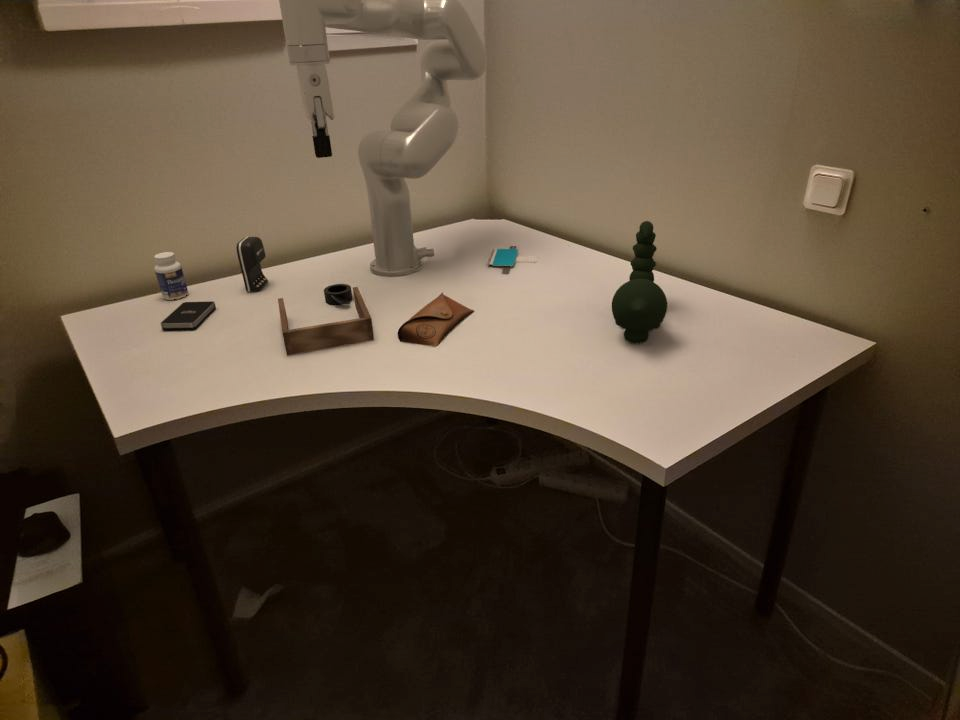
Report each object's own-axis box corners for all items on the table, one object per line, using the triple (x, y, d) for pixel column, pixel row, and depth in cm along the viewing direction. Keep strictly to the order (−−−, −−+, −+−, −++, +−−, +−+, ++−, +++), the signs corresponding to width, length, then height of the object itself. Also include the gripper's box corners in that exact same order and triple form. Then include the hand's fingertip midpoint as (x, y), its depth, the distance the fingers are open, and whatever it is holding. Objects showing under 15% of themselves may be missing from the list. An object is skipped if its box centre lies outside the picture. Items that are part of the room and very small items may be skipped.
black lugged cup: (314, 310, 132) (312, 297, 131) (329, 292, 141) (327, 280, 139) (350, 311, 131) (348, 298, 130) (362, 292, 140) (361, 280, 138)
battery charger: (261, 293, 141) (251, 243, 136) (245, 293, 141) (234, 244, 136) (273, 281, 147) (263, 234, 142) (257, 281, 147) (246, 234, 142)
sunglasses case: (438, 347, 114) (419, 316, 113) (410, 360, 118) (391, 330, 117) (476, 309, 129) (460, 281, 127) (450, 321, 133) (434, 294, 131)
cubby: (360, 306, 132) (357, 286, 130) (374, 340, 118) (371, 318, 116) (282, 319, 128) (277, 298, 126) (286, 355, 114) (282, 333, 112)
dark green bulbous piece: (615, 308, 131) (605, 355, 108) (622, 215, 123) (613, 244, 101) (662, 311, 129) (663, 360, 106) (673, 216, 121) (676, 247, 98)
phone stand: (534, 276, 145) (534, 270, 144) (483, 275, 147) (482, 269, 146) (539, 248, 163) (539, 242, 162) (493, 248, 164) (493, 242, 164)
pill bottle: (172, 302, 138) (160, 260, 133) (158, 298, 140) (145, 256, 136) (194, 294, 142) (182, 252, 137) (179, 290, 144) (167, 249, 140)
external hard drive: (217, 309, 134) (215, 301, 133) (195, 332, 125) (193, 323, 124) (186, 310, 135) (183, 301, 134) (161, 333, 125) (158, 324, 124)
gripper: (333, 56, 113) (347, 161, 121) (324, 53, 125) (338, 148, 134) (290, 58, 111) (308, 165, 119) (286, 55, 123) (302, 152, 132)
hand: (323, 156), depth 127 cm, fingers closed
